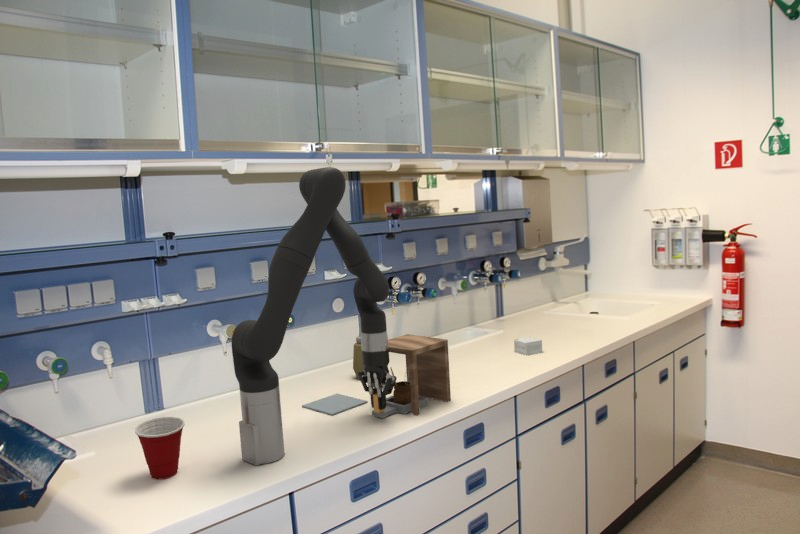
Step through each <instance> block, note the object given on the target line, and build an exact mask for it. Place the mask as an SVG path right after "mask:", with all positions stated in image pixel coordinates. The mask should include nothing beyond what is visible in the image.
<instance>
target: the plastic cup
mask: <svg viewBox="0 0 800 534" xmlns="http://www.w3.org/2000/svg"><path fill="white" fill-rule="evenodd" d="M185 425H186V422H185V420H184V419H183V418H181V417H177V416H160V417H155V418H151V419H147V420H144V421H143V422H141V423H138V424H137V425H136V427H134V433H135V435H136V436H137V438H138V439H139V442H140V444H141V449H142V452H143V454H144V458H145V463H146V465H147V468H148V471H149V475H150V476H151V478H152V479H154V480H165V479H169V478H172V477H174V476H175V475H177V473H178V470H179V462H180V461H179V460H180V453H181V442H182V435H183V429H184V427H185Z"/></svg>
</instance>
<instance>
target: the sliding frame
mask: <svg viewBox="0 0 800 534" xmlns="http://www.w3.org/2000/svg"><path fill="white" fill-rule="evenodd" d="M378 397H379V396H378V393H376V394H373V402H374V408H373V410H372V411H371V416H372V417H373V416H374V417H377V418H380V419H383V418H385V417H389V416H390V415H393V414H396V413H399V414H403V415H405V414H409V413H410V412H412V403H411V402H410V403H408V404H405V405H401V404H397V403H394V399H393V395H391V396H389V397H386V408H385V409H382V410H379V409H378ZM427 405H428V398H427V397H422V396H419V409H420V408H422V407H425V406H427Z"/></svg>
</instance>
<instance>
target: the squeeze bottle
mask: <svg viewBox="0 0 800 534" xmlns="http://www.w3.org/2000/svg"><path fill="white" fill-rule="evenodd" d="M355 340H356V341H355V343H354V344H353V352H352V353H353V356H352V357H353V360H352V369H353V372H354V374H355V377H356V378H357V379H358V378H359V376H358V372H360V371H363V370H364V367H365V366H364V365H363V363H362V348H361V325H360V327H359V334H358V336H356V337H355ZM358 380H360V378H359V379H358Z"/></svg>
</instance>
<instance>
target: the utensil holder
mask: <svg viewBox="0 0 800 534" xmlns="http://www.w3.org/2000/svg"><path fill="white" fill-rule="evenodd" d="M389 368H390V369H389V370H390V371H391V375H392V376H395V374H394V372H393V371H394V370H393V368H392V367H389ZM408 376H409V374H408ZM404 378H407V372H406V371H405V374H404ZM392 392H393V393H392V396H393V399H394V403H397V404H401V405H405V404H408V403H410V402H411V386H410V382H408V381H407V380H404V381H396V382H395V385H394V387H393V391H392Z"/></svg>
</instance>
